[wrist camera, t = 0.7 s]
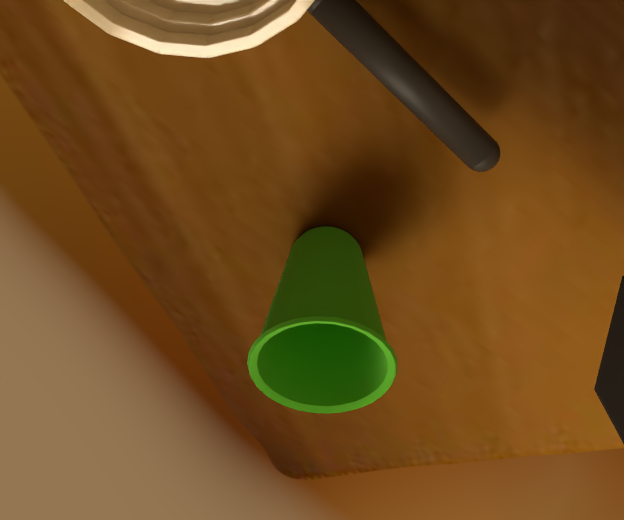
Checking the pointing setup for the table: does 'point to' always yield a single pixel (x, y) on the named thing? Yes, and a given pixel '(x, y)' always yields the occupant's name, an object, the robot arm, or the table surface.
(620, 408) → the robot arm
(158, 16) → the pan
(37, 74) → the table surface
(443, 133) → the pan handle
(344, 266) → the cup
